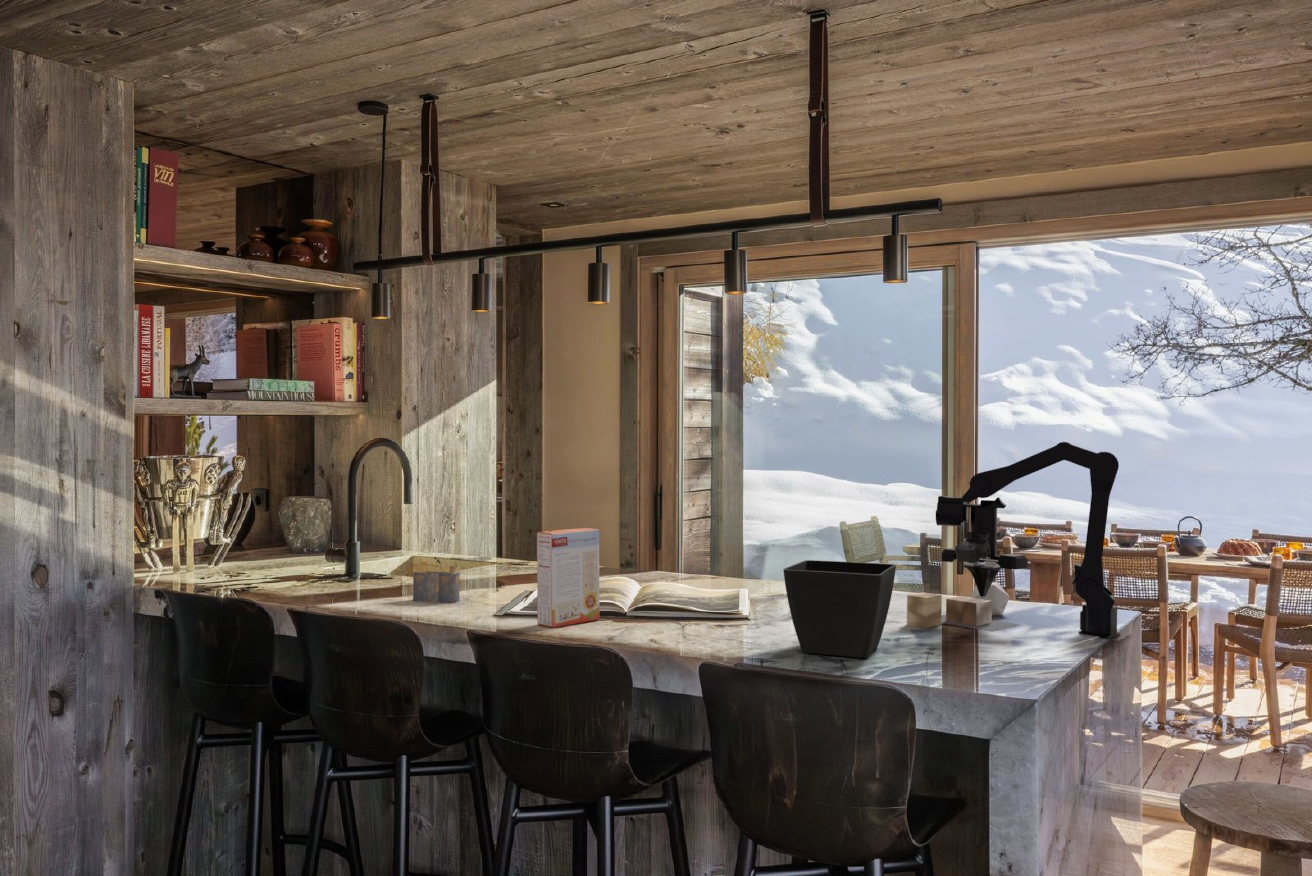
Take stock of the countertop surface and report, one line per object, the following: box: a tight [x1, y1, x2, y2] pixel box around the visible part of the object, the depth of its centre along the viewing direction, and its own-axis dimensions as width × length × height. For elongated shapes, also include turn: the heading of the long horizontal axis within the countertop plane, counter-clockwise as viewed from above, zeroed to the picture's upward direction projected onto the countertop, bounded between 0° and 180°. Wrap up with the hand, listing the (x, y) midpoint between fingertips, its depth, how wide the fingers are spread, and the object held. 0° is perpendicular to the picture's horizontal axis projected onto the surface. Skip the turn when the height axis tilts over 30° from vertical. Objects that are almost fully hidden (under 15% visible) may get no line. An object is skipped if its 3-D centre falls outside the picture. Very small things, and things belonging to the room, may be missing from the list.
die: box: [970, 581, 1011, 616], centre depth 240 cm, size 8×9×10 cm
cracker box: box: [536, 527, 601, 629], centre depth 226 cm, size 14×6×21 cm, turn 135°
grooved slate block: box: [412, 563, 461, 604], centre depth 253 cm, size 11×3×10 cm, turn 78°
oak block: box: [906, 592, 943, 629], centre depth 226 cm, size 5×6×7 cm
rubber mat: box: [941, 613, 1021, 632], centre depth 229 cm, size 18×12×1 cm, turn 41°
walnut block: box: [945, 595, 993, 626], centre depth 229 cm, size 5×6×8 cm
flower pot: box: [783, 559, 897, 659], centre depth 199 cm, size 19×19×17 cm
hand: (982, 596), depth 227 cm, fingers closed
